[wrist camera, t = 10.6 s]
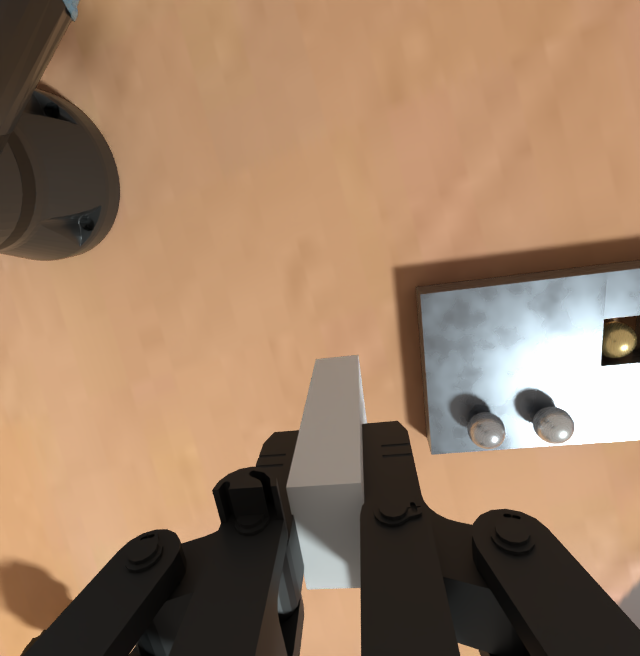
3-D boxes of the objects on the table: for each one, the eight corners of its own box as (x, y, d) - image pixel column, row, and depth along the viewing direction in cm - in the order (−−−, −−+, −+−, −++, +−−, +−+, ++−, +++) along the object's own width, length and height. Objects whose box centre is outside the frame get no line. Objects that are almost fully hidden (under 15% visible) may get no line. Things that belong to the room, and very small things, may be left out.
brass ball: (586, 325, 38) (631, 330, 35) (599, 314, 40) (643, 318, 37) (585, 359, 39) (628, 366, 36) (598, 347, 41) (640, 353, 38)
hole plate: (415, 287, 40) (420, 294, 37) (687, 254, 37) (714, 259, 34) (426, 437, 45) (431, 454, 42) (665, 419, 42) (687, 436, 39)
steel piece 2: (527, 401, 39) (542, 420, 36) (564, 398, 39) (583, 417, 36) (526, 432, 40) (541, 453, 37) (563, 429, 40) (581, 450, 37)
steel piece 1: (462, 407, 40) (472, 425, 37) (499, 403, 40) (511, 422, 36) (464, 436, 41) (473, 457, 38) (499, 434, 41) (511, 455, 37)
